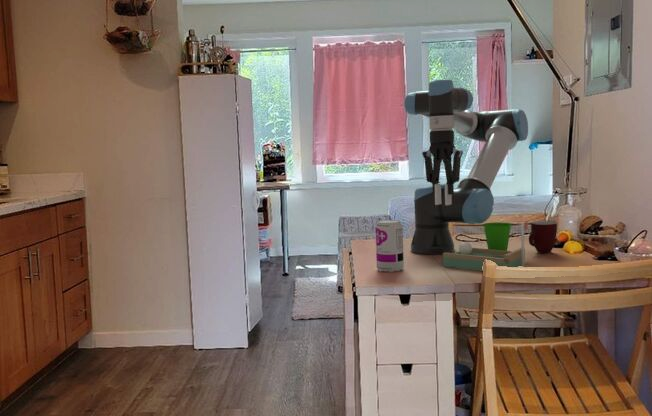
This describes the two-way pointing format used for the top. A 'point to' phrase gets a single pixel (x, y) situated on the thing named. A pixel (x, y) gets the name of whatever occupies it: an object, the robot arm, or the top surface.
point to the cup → (497, 235)
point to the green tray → (483, 258)
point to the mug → (543, 236)
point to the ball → (465, 248)
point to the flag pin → (523, 227)
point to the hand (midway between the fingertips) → (443, 204)
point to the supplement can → (389, 245)
